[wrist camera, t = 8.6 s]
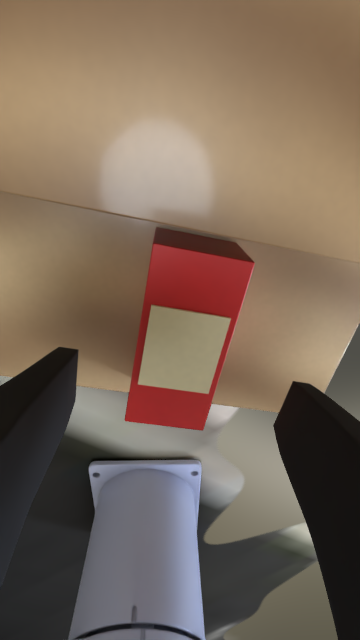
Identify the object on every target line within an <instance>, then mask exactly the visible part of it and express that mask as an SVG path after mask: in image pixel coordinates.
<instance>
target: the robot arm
mask: <svg viewBox="0 0 360 640" xmlns="http://www.w3.org/2000/svg"><path fill="white" fill-rule="evenodd" d="M78 352H79V350H78V349H71V348H65V347H58V348H56V349H55V350H53V351H52V352H50V353H49V354H47V355H46V356H44V357H43V358H42V359H40V360H39V361H37V362H36V363H34V364H33V365H31V366H30V367H29V368H27V369H26V370H24V371H23V372H21V373H20V374H18V375H17V376H15V377H14V378H12V379H11V380H9V381H7V382H6V383H4V384H3V385H1V386H0V589H1V586H2V583H3V581H4V578H5V575H6V572H7V569H8V566H9V563H10V560H11V558H12V555H13V552H14V549H15V546H16V544H17V541H18V538H19V535H20V533H21V530H22V527H23V524H24V521H25V519H26V516H27V513H28V511H29V509H30V506H31V504H32V502H33V499H34V497H35V495H36V493H37V490H38V488H39V486H40V484H41V482H42V480H43V478H44V475H45V473H46V471H47V469H48V467H49V465H50V463H51V460H52V458H53V456H54V454H55V452H56V450H57V447H58V445H59V443H60V441H61V439H62V437H63V434H64V432H65V430H66V427H67V424H68V421H69V418H70V415H71V412H72V409H73V406H74V403H75V397H76V382H77V367H78ZM274 430H275V435H276V440H277V443H278V448H279V452H280V455H281V458H282V460H283V463H284V466H285V468H286V471H287V474H288V476H289V479H290V482H291V484H292V487H293V489H294V492H295V494H296V497H297V500H298V502H299V505H300V507H301V510H302V513H303V515H304V518H305V520H306V523H307V526H308V529H309V532H310V535H311V538H312V541H313V544H314V548H315V551H316V555H317V558H318V562H319V565H320V569H321V572H322V576H323V580H324V583H325V587H326V591H327V595H328V599H329V603H330V607H331V610H332V614H333V619H334V623H335V627H336V632H337V636H338V640H360V421H358V420H357V419H356V418H355V417H353V416H352V415H351V414H350V413H348V412H347V411H346V410H345V409H343V408H342V407H341V406H339V405H338V404H337V403H336V402H334V401H333V400H332V399H331V398H329V397H328V396H327V395H325V394H324V393H323V392H321V391H320V390H319V389H317V388H316V387H314V386H313V385H311V384H310V383H303V382H296V381H293V382H292V384H291V387H290V389H289V391H288V393H287V396H286V398H285V400H284V403H283V405H282V407H281V409H280V412H279V414H278V416H277V419H276V421H275V423H274ZM201 469H202V467H201V462H200V461H198V460H131V461H93V462H91V463H90V465H89V476H90V482H91V489H92V495H93V501H94V507H95V516H94V521H93V526H92V530H91V535H90V540H89V544H88V549H87V554H86V558H85V563H84V568H83V572H82V577H81V582H80V587H79V591H78V596H77V601H76V605H75V610H74V615H73V619H72V624H71V629H70V633H69V638H68V640H205V634H204V621H203V608H202V595H201V582H200V569H199V556H198V544H197V521H198V508H199V495H200V482H201Z"/></svg>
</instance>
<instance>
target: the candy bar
mask: <svg viewBox="0 0 360 640" xmlns="http://www.w3.org/2000/svg"><path fill="white" fill-rule="evenodd" d="M254 265H255V262H254V261H253V260H252V259H251V258H250V257H249V256H248V255H247V253H246V252H245V251H244V250H243V249H242V248H241V247H240V246H239V245H238V244H237V243H235V242H230V241H225V240H220V239H215V238H210V237H205V236H200V235H195V234H190V233H185V232H180V231H174V230H169V229H164V228H159V227H156V230H155V235H154V240H153V245H152V251H151V257H150V263H149V270H148V276H147V282H146V289H145V295H144V301H143V308H142V314H141V320H140V326H139V333H138V339H137V345H136V352H135V358H134V364H133V370H132V377H131V383H130V389H129V396H128V402H127V408H126V415H125V421H129V422H137V423H146V424H154V425H162V426H170V427H178V428H186V429H195V430H203V429H204V426H205V422H206V419H207V416H208V413H209V410H210V406H211V403H212V400H213V397H214V394H215V390H216V387H217V384H218V381H219V378H220V374H221V371H222V368H223V365H224V361H225V358H226V355H227V352H228V349H229V345H230V342H231V339H232V336H233V333H234V329H235V326H236V323H237V320H238V317H239V313H240V310H241V307H242V304H243V300H244V297H245V294H246V291H247V288H248V284H249V281H250V278H251V275H252V272H253V268H254Z"/></svg>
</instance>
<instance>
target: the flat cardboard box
mask: <svg viewBox="0 0 360 640" xmlns="http://www.w3.org/2000/svg"><path fill="white" fill-rule="evenodd" d="M156 227H159V228H164V229H169V230H174V231H180V232H185V233H190V234H195V235H200V236H205V237H210V238H215V239H220V240H225V241H230V242H235V243H237V244H238V245H239V246H240V247H241V248H242V249H243V250H244V251H245V252H246V253H247V255H248V256H249V257H250V258H251V259H252V260H253V261H254V262H255V265H254V268H253V272H252V275H251V278H250V281H249V284H248V288H247V291H246V294H245V297H244V300H243V304H242V307H241V310H240V313H239V317H238V320H237V323H236V326H235V329H234V333H233V336H232V339H231V342H230V345H229V349H228V352H227V355H226V358H225V361H224V365H223V368H222V371H221V374H220V378H219V381H218V384H217V387H216V390H215V394H214V397H213V400H212V403H211V404H218V405H225V406H233V407H240V408H248V409H256V410H263V411H271V412H278V413H279V412H280V409H281V407H282V405H283V403H284V400H285V398H286V396H287V393H288V391H289V389H290V387H291V384H292V382H293V381H296V382H303V383H310V384H311V385H313V386H314V387H316V388H317V389H319V390H320V391H321V392H323V393H324V392H325V390H326V388H327V386H328V384H329V382H330V380H331V378H332V376H333V374H334V372H335V370H336V368H337V366H338V365H339V362H340V360H341V359H342V357H343V355H344V353H345V350H346V349H347V347H348V345H349V343H350V341H351V339H352V337H353V335H354V333H355V331H356V329H357V327H358V325H359V323H360V0H0V376H7V377H15V376H17V375H18V374H20V373H21V372H23V371H24V370H26V369H27V368H29V367H30V366H31V365H33V364H34V363H36V362H37V361H39V360H40V359H42V358H43V357H44V356H46V355H47V354H49V353H50V352H52V351H53V350H55V349H56V348H58V347H65V348H71V349H78V350H79V352H78V367H77V382H76V386H83V387H90V388H98V389H105V390H113V391H120V392H128V393H129V389H130V383H131V377H132V370H133V364H134V358H135V352H136V345H137V339H138V333H139V326H140V320H141V314H142V308H143V301H144V295H145V289H146V282H147V276H148V270H149V263H150V257H151V251H152V245H153V240H154V235H155V230H156Z"/></svg>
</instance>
